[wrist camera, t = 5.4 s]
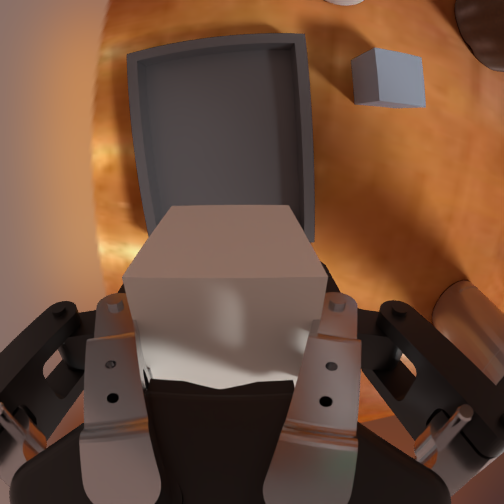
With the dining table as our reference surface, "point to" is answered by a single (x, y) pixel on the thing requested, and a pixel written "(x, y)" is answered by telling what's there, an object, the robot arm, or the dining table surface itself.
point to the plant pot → (483, 30)
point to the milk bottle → (344, 2)
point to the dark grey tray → (224, 124)
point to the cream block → (225, 294)
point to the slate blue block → (388, 79)
